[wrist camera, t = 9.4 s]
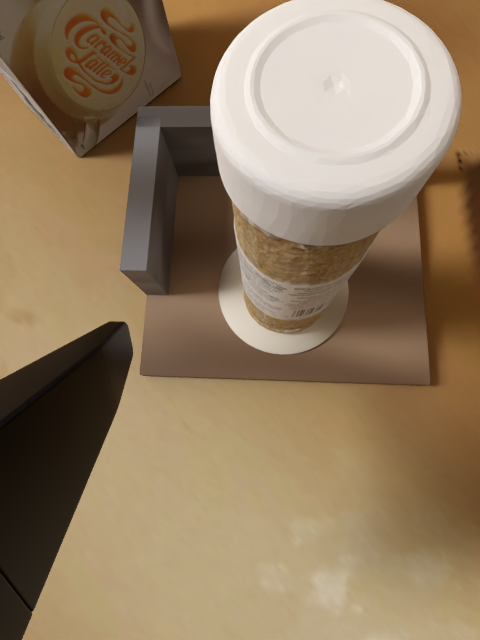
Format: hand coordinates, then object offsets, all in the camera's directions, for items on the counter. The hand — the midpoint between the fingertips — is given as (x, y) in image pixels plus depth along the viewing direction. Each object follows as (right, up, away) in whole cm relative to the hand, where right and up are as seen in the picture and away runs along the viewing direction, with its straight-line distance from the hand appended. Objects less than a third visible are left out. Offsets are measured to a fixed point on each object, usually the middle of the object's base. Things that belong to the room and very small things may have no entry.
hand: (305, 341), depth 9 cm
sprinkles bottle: (+1, +2, +11) cm, 11 cm away
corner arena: (+1, +4, +12) cm, 13 cm away
